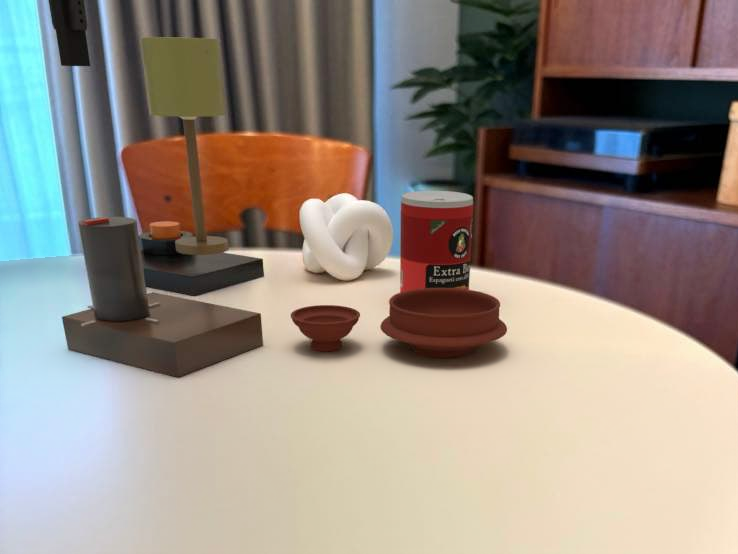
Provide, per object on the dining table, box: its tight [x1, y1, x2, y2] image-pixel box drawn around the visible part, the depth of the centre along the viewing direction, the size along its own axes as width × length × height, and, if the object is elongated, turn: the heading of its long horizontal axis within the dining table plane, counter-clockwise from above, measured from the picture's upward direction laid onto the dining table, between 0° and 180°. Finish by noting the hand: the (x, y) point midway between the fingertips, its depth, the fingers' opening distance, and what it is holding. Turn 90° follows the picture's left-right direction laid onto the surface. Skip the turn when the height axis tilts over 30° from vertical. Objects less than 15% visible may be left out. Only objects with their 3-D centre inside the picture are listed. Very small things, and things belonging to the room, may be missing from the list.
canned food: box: [399, 190, 474, 293], centre depth 90 cm, size 8×8×11 cm
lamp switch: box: [149, 220, 182, 238], centre depth 103 cm, size 4×4×2 cm
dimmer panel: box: [61, 291, 264, 378], centre depth 76 cm, size 14×12×3 cm
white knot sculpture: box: [299, 192, 394, 282], centre depth 101 cm, size 11×12×9 cm
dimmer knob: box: [77, 216, 150, 321], centre depth 73 cm, size 5×5×8 cm
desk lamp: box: [139, 36, 230, 255], centre depth 91 cm, size 8×8×21 cm
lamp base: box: [138, 230, 265, 297], centre depth 100 cm, size 16×12×4 cm
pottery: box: [290, 288, 508, 359], centre depth 77 cm, size 12×20×4 cm, turn 90°
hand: (75, 65), depth 91 cm, fingers closed
